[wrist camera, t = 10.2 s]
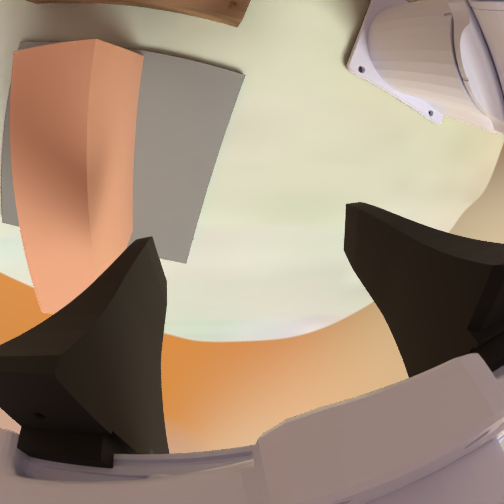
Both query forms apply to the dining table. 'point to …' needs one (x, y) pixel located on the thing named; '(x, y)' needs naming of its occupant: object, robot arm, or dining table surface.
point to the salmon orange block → (73, 161)
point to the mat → (163, 147)
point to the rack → (184, 7)
